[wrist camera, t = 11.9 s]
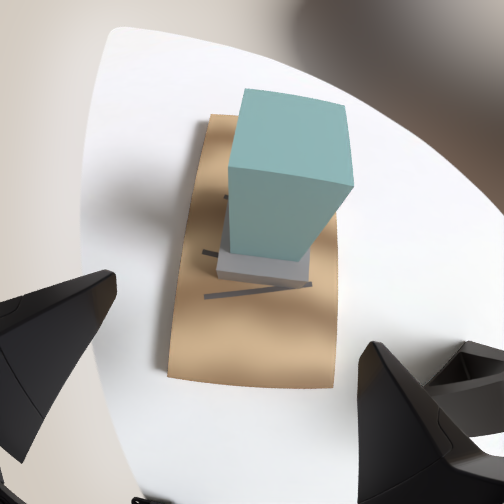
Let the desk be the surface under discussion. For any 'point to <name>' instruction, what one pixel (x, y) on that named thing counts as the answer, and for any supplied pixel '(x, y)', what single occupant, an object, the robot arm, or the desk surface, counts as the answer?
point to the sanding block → (282, 186)
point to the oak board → (248, 298)
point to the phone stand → (472, 389)
